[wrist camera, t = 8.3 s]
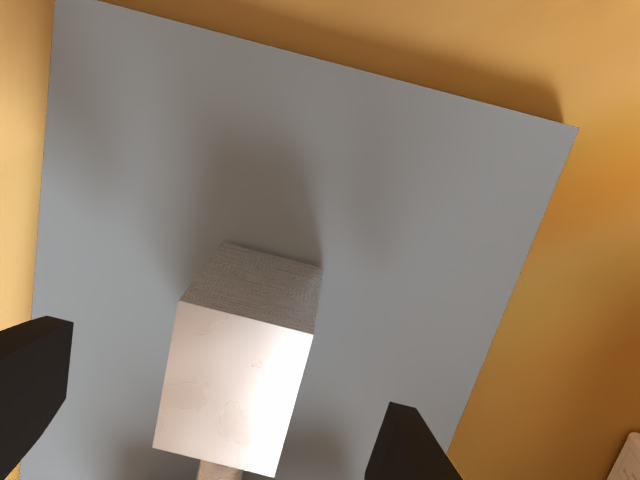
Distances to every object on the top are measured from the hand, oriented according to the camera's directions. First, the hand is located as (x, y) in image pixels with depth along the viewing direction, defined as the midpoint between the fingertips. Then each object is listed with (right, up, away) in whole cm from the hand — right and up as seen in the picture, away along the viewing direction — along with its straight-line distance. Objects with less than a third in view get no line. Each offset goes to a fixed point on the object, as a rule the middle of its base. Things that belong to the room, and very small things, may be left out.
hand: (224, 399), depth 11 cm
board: (0, -1, +6) cm, 6 cm away
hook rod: (-1, -3, +6) cm, 6 cm away
